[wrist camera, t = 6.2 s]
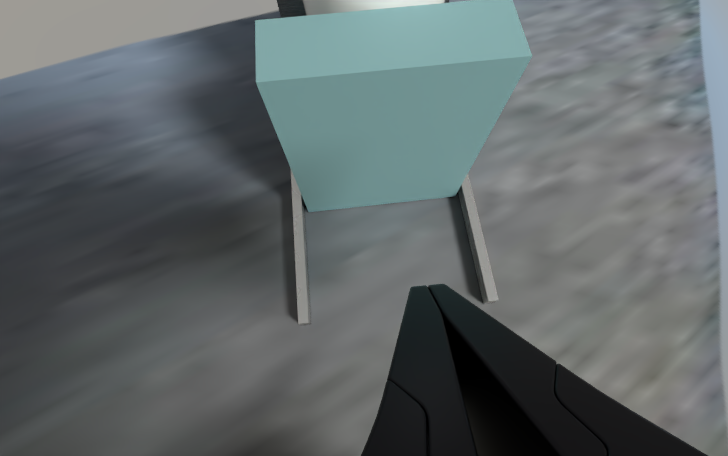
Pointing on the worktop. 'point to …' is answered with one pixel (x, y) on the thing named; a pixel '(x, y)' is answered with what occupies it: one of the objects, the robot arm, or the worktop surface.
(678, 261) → the worktop surface
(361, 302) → the worktop surface
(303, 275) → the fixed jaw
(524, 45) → the block
